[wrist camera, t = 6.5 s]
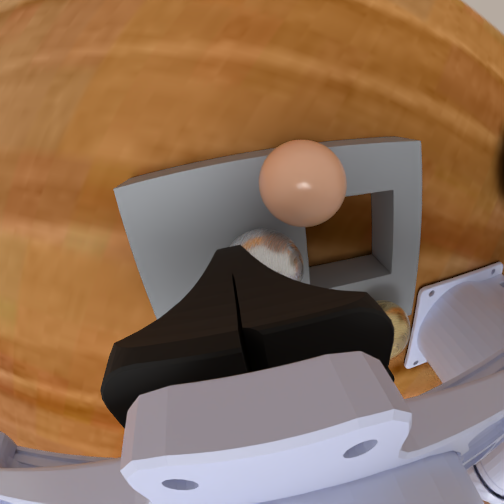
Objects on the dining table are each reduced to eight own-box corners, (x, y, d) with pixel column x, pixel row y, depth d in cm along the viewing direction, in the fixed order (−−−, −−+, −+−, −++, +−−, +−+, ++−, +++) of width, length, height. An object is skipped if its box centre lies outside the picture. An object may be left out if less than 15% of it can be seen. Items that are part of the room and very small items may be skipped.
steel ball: (240, 224, 14) (305, 215, 12) (256, 289, 14) (319, 287, 13) (196, 246, 11) (272, 237, 9) (219, 322, 12) (292, 326, 10)
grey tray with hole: (394, 136, 14) (420, 140, 12) (393, 293, 18) (411, 314, 16) (130, 178, 14) (113, 188, 12) (180, 336, 18) (176, 364, 16)
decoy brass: (396, 282, 15) (426, 316, 12) (390, 328, 16) (415, 363, 13) (342, 296, 15) (366, 335, 12) (341, 341, 16) (361, 381, 13)
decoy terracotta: (325, 133, 11) (357, 138, 9) (332, 206, 13) (363, 231, 10) (248, 143, 11) (257, 150, 8) (261, 218, 13) (272, 248, 10)
